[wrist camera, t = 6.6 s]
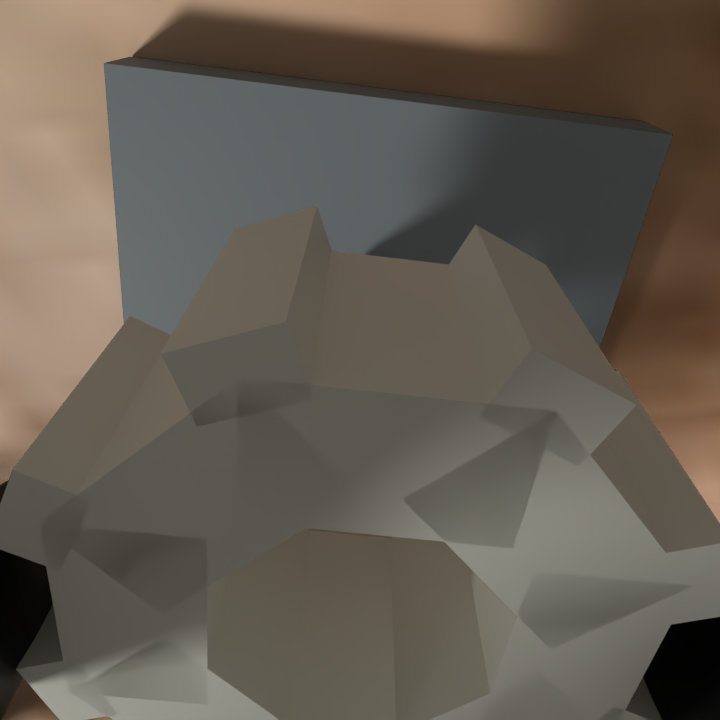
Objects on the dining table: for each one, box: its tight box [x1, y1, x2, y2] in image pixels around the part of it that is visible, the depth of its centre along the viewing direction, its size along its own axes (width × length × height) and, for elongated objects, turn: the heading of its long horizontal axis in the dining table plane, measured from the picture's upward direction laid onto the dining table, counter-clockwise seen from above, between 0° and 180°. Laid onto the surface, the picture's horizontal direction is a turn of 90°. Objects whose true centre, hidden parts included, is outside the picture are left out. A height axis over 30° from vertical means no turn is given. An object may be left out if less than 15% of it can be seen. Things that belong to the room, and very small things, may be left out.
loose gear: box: [0, 206, 720, 720], centre depth 8 cm, size 7×7×3 cm
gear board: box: [104, 57, 673, 538], centre depth 15 cm, size 16×11×6 cm
